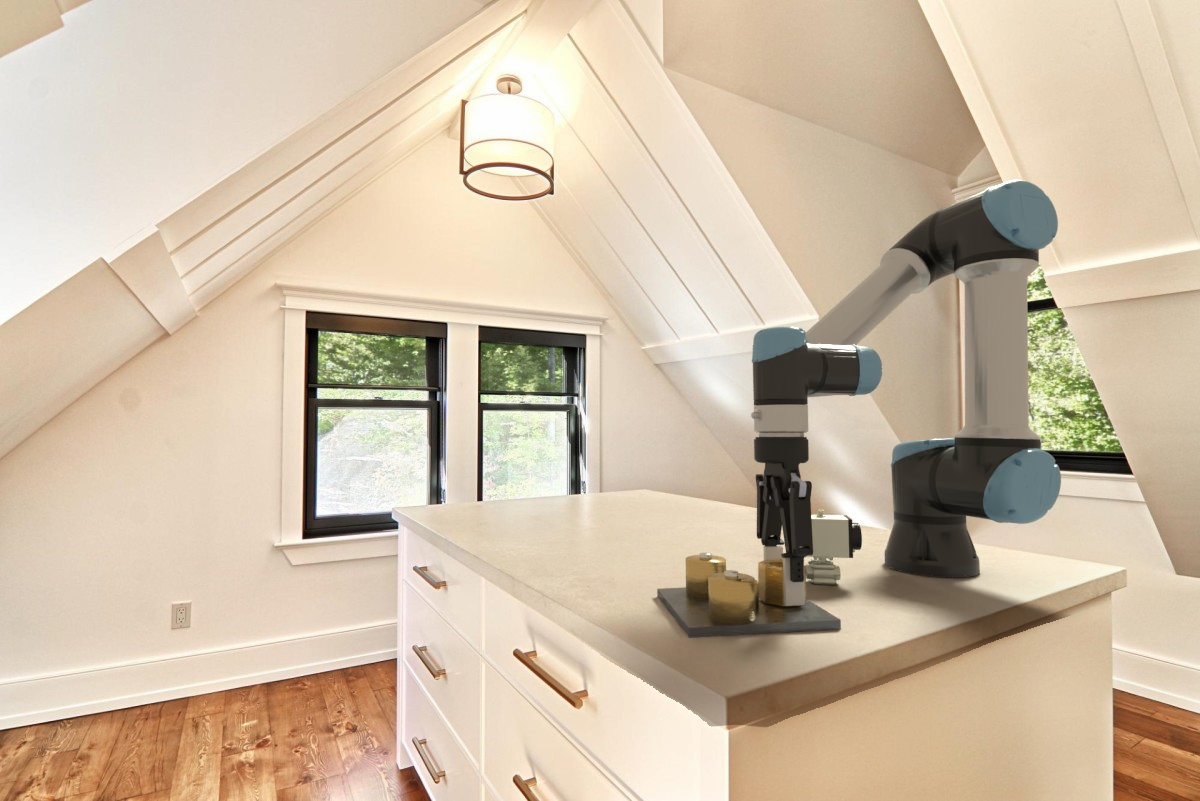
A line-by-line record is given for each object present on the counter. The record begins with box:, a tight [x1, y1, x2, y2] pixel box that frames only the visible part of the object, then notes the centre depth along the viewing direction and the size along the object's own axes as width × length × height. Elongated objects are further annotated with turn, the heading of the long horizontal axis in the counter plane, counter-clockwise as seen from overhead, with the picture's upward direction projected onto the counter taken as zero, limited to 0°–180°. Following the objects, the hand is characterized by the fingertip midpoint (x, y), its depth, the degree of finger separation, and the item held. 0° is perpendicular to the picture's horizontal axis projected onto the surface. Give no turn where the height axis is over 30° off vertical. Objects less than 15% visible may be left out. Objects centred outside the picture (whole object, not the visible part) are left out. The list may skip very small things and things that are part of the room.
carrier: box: [656, 552, 842, 639], centre depth 84 cm, size 20×18×7 cm
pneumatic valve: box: [784, 509, 863, 586], centre depth 100 cm, size 6×12×12 cm, turn 78°
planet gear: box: [757, 559, 807, 606], centre depth 85 cm, size 6×6×5 cm
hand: (783, 597), depth 85 cm, fingers closed on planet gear, 6 cm apart
